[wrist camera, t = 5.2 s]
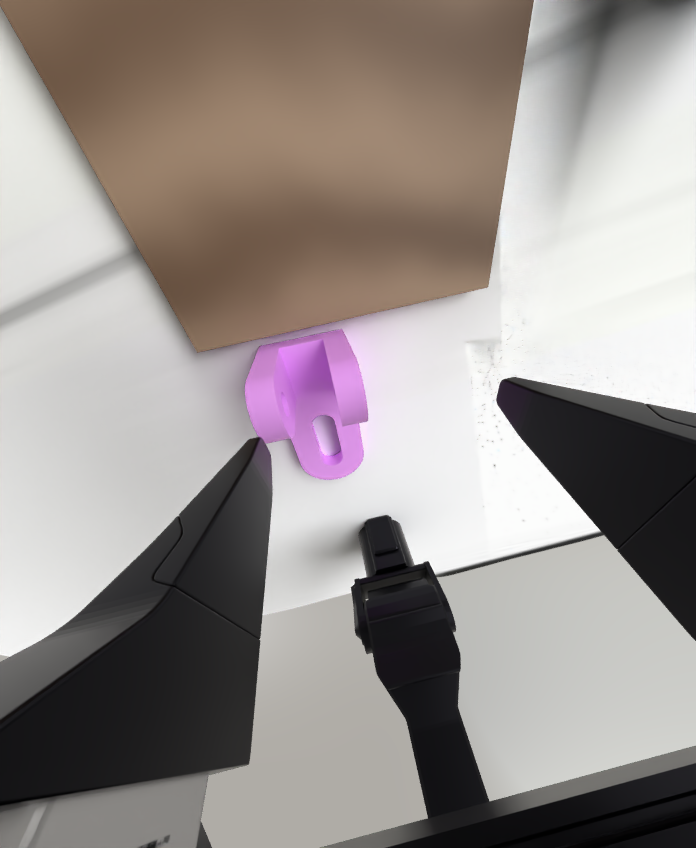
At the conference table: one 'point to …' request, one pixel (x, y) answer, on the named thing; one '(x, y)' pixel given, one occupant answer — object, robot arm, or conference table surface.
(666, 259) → the conference table surface
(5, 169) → the conference table surface
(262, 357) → the bracket
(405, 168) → the board
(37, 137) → the conference table surface
